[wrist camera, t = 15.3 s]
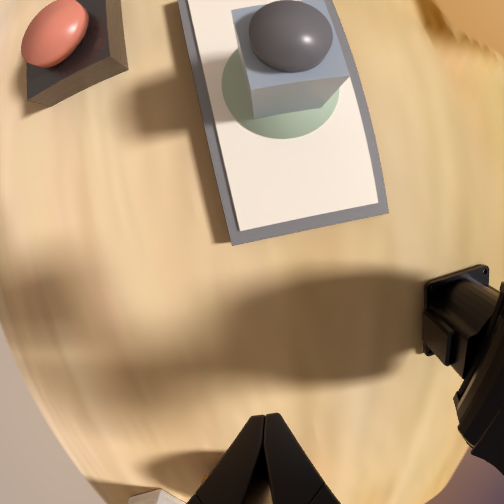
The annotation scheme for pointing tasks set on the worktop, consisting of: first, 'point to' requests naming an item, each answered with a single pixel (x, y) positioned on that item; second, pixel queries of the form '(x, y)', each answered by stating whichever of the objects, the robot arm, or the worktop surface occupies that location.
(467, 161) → the worktop surface
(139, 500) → the supplement box
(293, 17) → the grey rectangular block
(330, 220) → the drawing board
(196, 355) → the worktop surface
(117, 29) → the button housing
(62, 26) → the button
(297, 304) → the worktop surface
